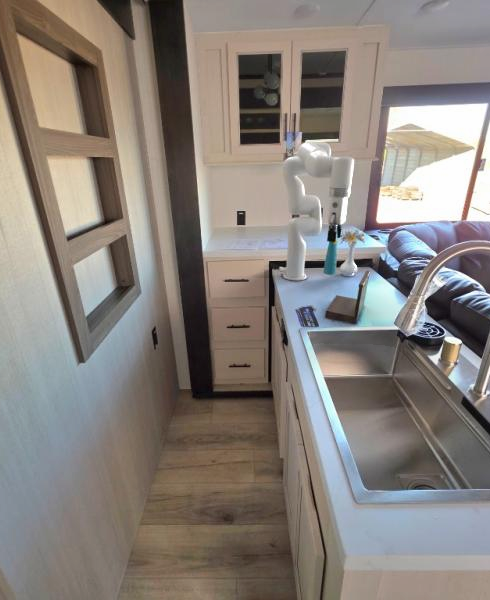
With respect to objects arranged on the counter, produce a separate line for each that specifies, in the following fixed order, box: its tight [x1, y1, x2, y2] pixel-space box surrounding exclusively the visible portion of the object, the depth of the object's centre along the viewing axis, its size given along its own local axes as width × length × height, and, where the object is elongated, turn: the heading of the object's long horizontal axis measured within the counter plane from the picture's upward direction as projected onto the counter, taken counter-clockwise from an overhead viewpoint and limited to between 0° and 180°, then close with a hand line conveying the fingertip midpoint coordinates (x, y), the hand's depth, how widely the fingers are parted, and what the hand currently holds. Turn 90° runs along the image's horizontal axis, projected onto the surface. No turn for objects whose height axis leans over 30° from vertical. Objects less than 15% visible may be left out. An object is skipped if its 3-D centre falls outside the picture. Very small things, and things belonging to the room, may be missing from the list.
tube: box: [323, 229, 338, 276], centre depth 127 cm, size 7×5×19 cm, turn 162°
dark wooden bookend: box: [324, 270, 371, 325], centre depth 127 cm, size 12×18×16 cm
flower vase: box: [339, 228, 366, 277], centre depth 169 cm, size 13×18×25 cm
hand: (333, 239), depth 125 cm, fingers closed on tube, 7 cm apart
